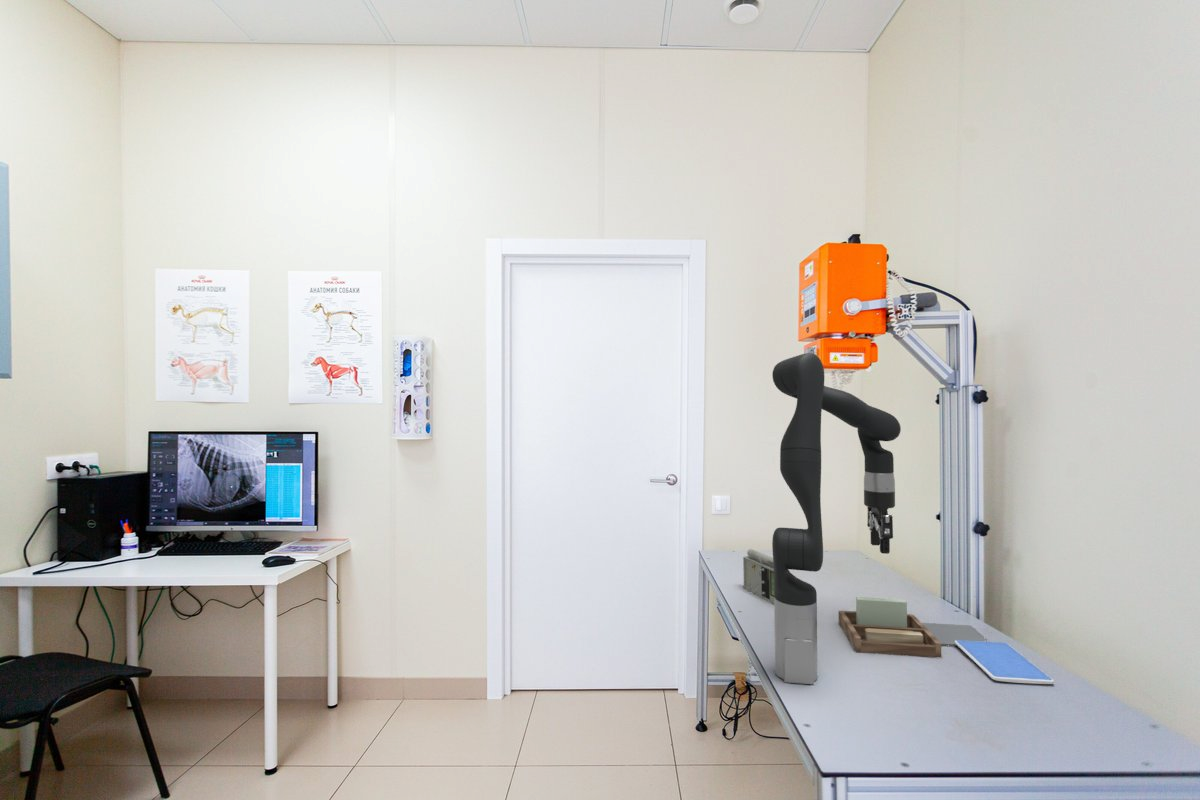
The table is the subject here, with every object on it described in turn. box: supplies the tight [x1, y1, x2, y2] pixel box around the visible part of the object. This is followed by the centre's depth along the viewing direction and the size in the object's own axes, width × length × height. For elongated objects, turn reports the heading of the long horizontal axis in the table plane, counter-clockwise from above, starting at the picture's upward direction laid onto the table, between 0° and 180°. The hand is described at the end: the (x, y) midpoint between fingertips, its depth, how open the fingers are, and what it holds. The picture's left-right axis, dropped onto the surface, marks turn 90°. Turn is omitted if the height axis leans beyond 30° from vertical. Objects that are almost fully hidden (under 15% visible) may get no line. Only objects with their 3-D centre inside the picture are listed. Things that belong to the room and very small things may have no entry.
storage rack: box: [838, 610, 942, 658], centre depth 149 cm, size 19×19×4 cm
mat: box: [921, 622, 988, 647], centre depth 151 cm, size 14×14×1 cm
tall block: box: [855, 596, 908, 627], centre depth 153 cm, size 2×12×9 cm, turn 79°
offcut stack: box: [864, 628, 923, 644], centre depth 144 cm, size 4×13×4 cm, turn 79°
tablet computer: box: [954, 640, 1055, 685], centre depth 134 cm, size 19×13×1 cm, turn 171°
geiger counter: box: [742, 548, 774, 605], centre depth 179 cm, size 14×6×25 cm
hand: (879, 548), depth 153 cm, fingers open, 8 cm apart
